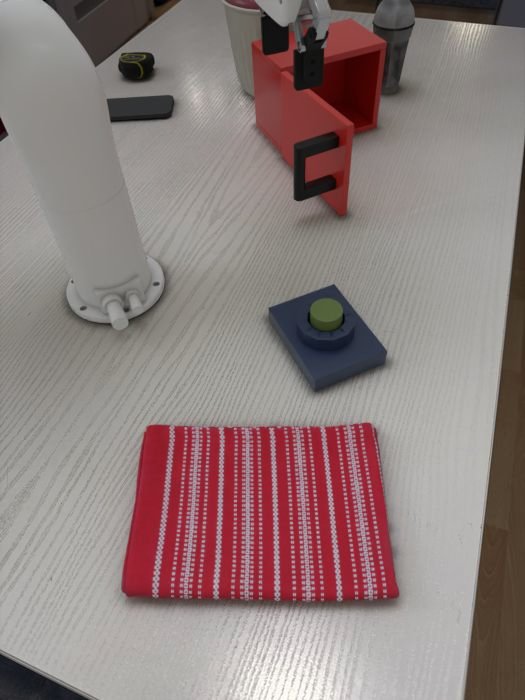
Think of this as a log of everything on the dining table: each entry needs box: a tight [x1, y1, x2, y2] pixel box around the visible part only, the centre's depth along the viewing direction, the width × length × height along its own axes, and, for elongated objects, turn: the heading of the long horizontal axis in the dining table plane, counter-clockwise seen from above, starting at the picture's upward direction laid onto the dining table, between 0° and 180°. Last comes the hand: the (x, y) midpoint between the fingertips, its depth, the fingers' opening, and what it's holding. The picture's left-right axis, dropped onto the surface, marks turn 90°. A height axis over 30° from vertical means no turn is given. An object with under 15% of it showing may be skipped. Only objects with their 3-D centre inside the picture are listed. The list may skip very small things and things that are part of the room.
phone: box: [106, 94, 175, 122], centre depth 102 cm, size 7×1×15 cm
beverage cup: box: [371, 0, 416, 95], centre depth 95 cm, size 7×7×20 cm
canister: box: [219, 0, 313, 98], centre depth 97 cm, size 18×18×21 cm
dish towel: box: [121, 421, 400, 603], centre depth 50 cm, size 17×24×3 cm
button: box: [310, 298, 343, 332], centre depth 61 cm, size 4×4×2 cm
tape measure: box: [117, 51, 156, 80], centre depth 110 cm, size 7×7×4 cm
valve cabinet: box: [251, 18, 387, 155], centre depth 90 cm, size 11×18×14 cm, turn 114°
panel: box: [267, 283, 388, 393], centre depth 62 cm, size 12×9×4 cm
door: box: [281, 71, 354, 217], centre depth 78 cm, size 7×18×14 cm, turn 27°
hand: (291, 69), depth 61 cm, fingers open, 9 cm apart
